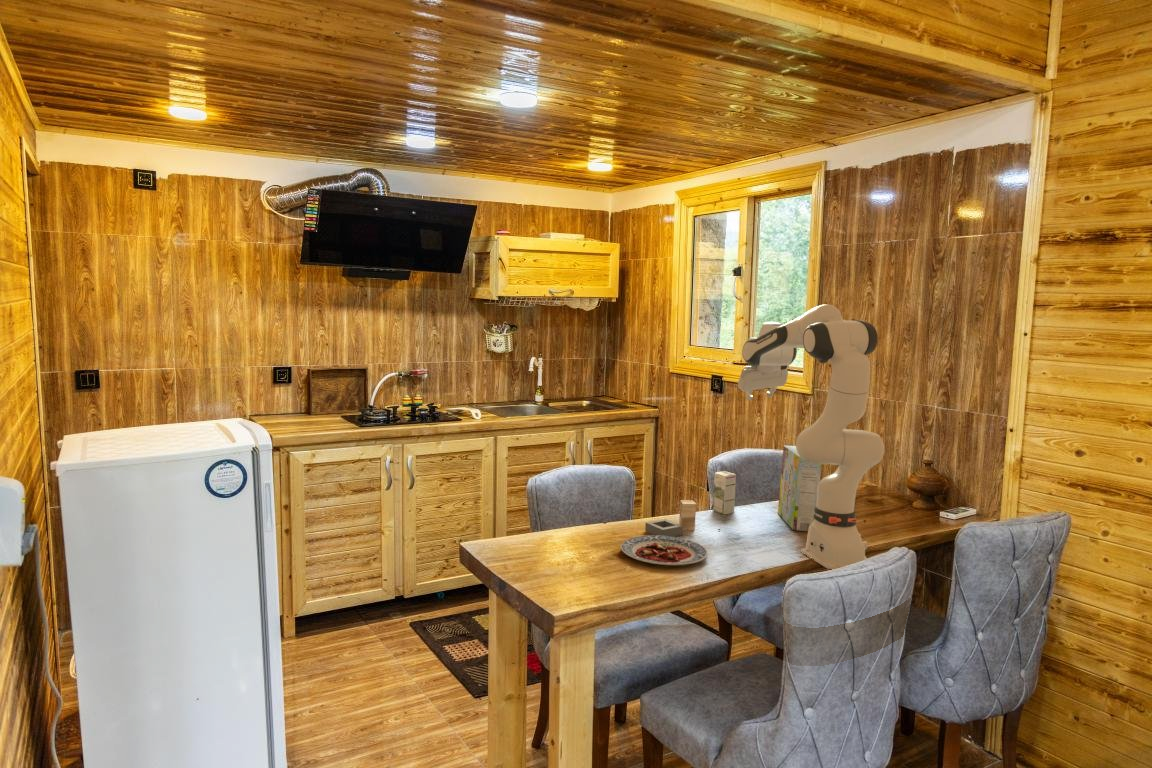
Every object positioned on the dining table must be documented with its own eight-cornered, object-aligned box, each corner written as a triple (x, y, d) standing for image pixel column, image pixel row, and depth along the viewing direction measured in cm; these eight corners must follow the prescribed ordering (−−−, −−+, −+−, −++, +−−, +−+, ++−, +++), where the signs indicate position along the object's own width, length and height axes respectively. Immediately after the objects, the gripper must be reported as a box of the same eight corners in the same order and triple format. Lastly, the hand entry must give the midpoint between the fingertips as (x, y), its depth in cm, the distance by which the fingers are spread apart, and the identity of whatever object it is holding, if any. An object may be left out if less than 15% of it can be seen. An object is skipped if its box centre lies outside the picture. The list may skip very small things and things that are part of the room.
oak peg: (694, 530, 248) (696, 503, 247) (681, 529, 247) (683, 503, 246) (691, 526, 252) (693, 500, 251) (678, 525, 252) (680, 500, 251)
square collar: (682, 534, 242) (682, 525, 242) (662, 538, 237) (662, 529, 237) (665, 527, 249) (665, 519, 249) (645, 531, 244) (645, 522, 244)
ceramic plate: (688, 578, 205) (689, 567, 204) (605, 559, 217) (606, 549, 217) (718, 552, 227) (719, 543, 227) (642, 536, 239) (642, 527, 239)
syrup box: (734, 512, 270) (737, 473, 269) (723, 514, 267) (725, 475, 265) (723, 508, 275) (725, 470, 273) (711, 510, 272) (714, 472, 270)
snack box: (818, 532, 250) (823, 457, 247) (792, 531, 250) (797, 456, 247) (800, 514, 271) (805, 445, 269) (776, 513, 272) (781, 444, 269)
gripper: (748, 370, 264) (742, 405, 270) (792, 364, 273) (785, 398, 278) (737, 363, 269) (731, 398, 275) (781, 358, 278) (775, 392, 283)
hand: (759, 398), depth 277 cm, fingers open, 8 cm apart
